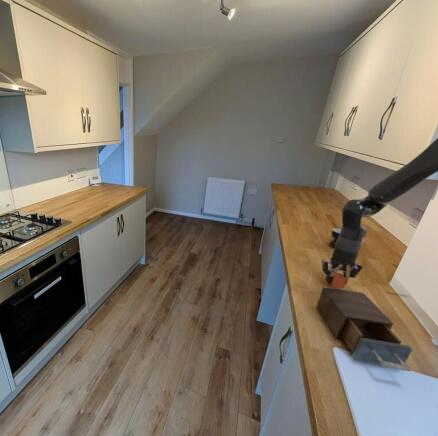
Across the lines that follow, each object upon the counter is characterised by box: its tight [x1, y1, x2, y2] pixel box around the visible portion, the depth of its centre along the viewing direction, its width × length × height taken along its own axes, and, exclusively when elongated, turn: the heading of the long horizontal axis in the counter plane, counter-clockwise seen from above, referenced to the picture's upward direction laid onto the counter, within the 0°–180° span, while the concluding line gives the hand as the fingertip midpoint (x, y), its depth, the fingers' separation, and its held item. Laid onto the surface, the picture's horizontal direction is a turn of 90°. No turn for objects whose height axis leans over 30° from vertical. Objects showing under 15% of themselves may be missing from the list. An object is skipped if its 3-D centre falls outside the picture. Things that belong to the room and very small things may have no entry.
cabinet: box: [316, 286, 394, 341], centre depth 79 cm, size 15×13×9 cm
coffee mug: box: [329, 227, 341, 249], centre depth 133 cm, size 12×9×10 cm
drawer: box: [341, 319, 413, 372], centre depth 69 cm, size 18×11×7 cm, turn 167°
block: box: [329, 272, 347, 289], centre depth 99 cm, size 4×4×4 cm
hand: (335, 283), depth 100 cm, fingers closed on block, 4 cm apart
